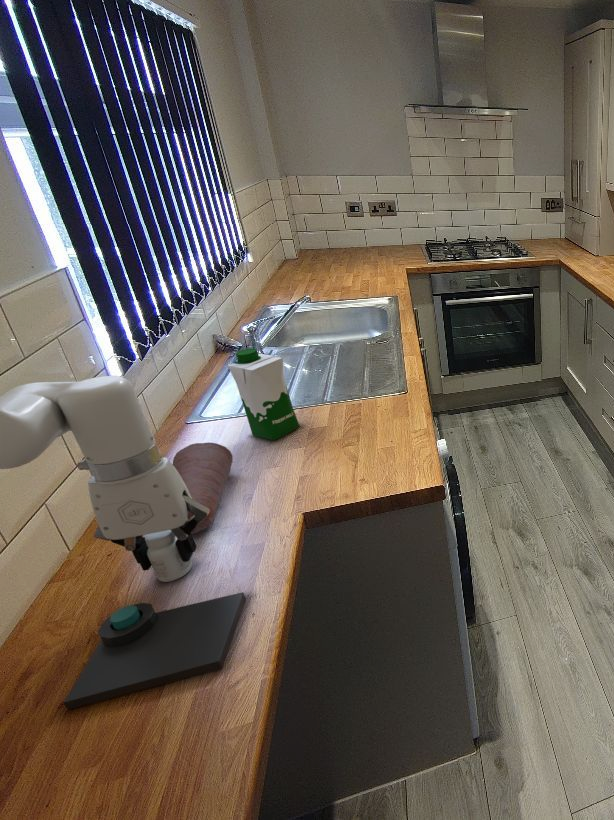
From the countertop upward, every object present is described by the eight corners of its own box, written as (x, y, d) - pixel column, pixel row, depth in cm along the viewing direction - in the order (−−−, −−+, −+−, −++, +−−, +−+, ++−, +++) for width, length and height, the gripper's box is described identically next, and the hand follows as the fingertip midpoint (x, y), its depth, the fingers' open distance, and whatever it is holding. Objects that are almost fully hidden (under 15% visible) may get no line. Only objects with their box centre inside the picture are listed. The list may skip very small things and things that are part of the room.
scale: (67, 710, 63) (57, 693, 62) (118, 625, 74) (109, 609, 73) (222, 668, 68) (215, 652, 66) (247, 594, 79) (241, 579, 77)
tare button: (110, 633, 70) (105, 624, 69) (119, 616, 72) (115, 608, 71) (135, 626, 70) (131, 618, 70) (144, 610, 73) (140, 602, 72)
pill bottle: (190, 558, 86) (174, 520, 83) (195, 572, 83) (178, 533, 80) (156, 572, 83) (138, 533, 80) (160, 587, 80) (142, 548, 77)
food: (182, 485, 104) (166, 447, 101) (238, 470, 109) (225, 433, 106) (171, 548, 88) (152, 505, 84) (237, 527, 92) (222, 485, 89)
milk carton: (279, 419, 129) (257, 343, 121) (306, 425, 126) (285, 348, 118) (246, 436, 122) (219, 357, 114) (273, 444, 119) (248, 362, 111)
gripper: (35, 488, 69) (91, 592, 76) (186, 463, 74) (225, 562, 81) (67, 459, 75) (116, 557, 83) (204, 437, 81) (238, 531, 88)
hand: (169, 558), depth 82 cm, fingers closed on pill bottle, 4 cm apart
